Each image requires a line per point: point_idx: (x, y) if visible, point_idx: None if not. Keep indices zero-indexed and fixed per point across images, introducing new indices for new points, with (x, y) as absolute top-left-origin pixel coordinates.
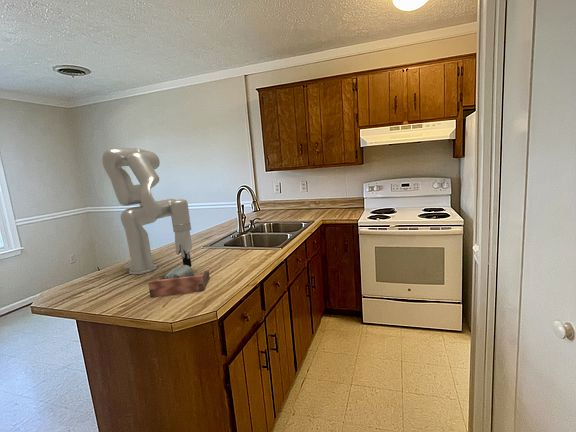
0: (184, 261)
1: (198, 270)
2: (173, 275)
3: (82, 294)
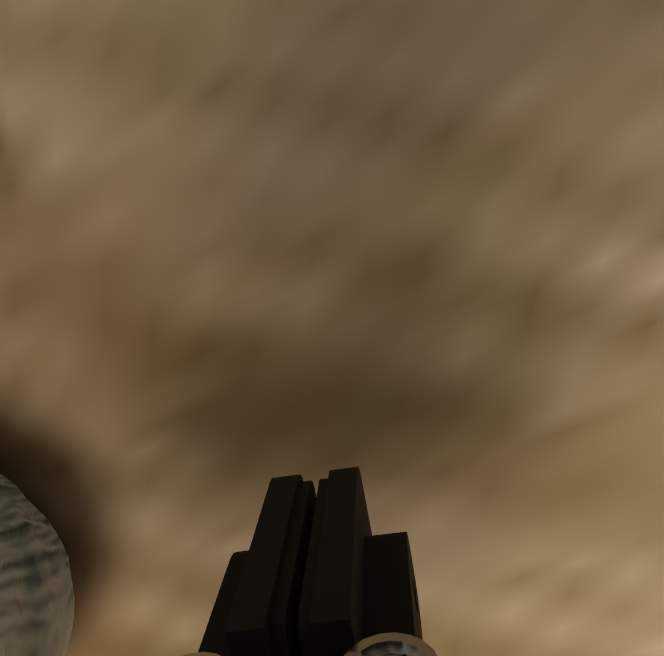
0: (207, 651)
1: (583, 525)
2: None
3: None
